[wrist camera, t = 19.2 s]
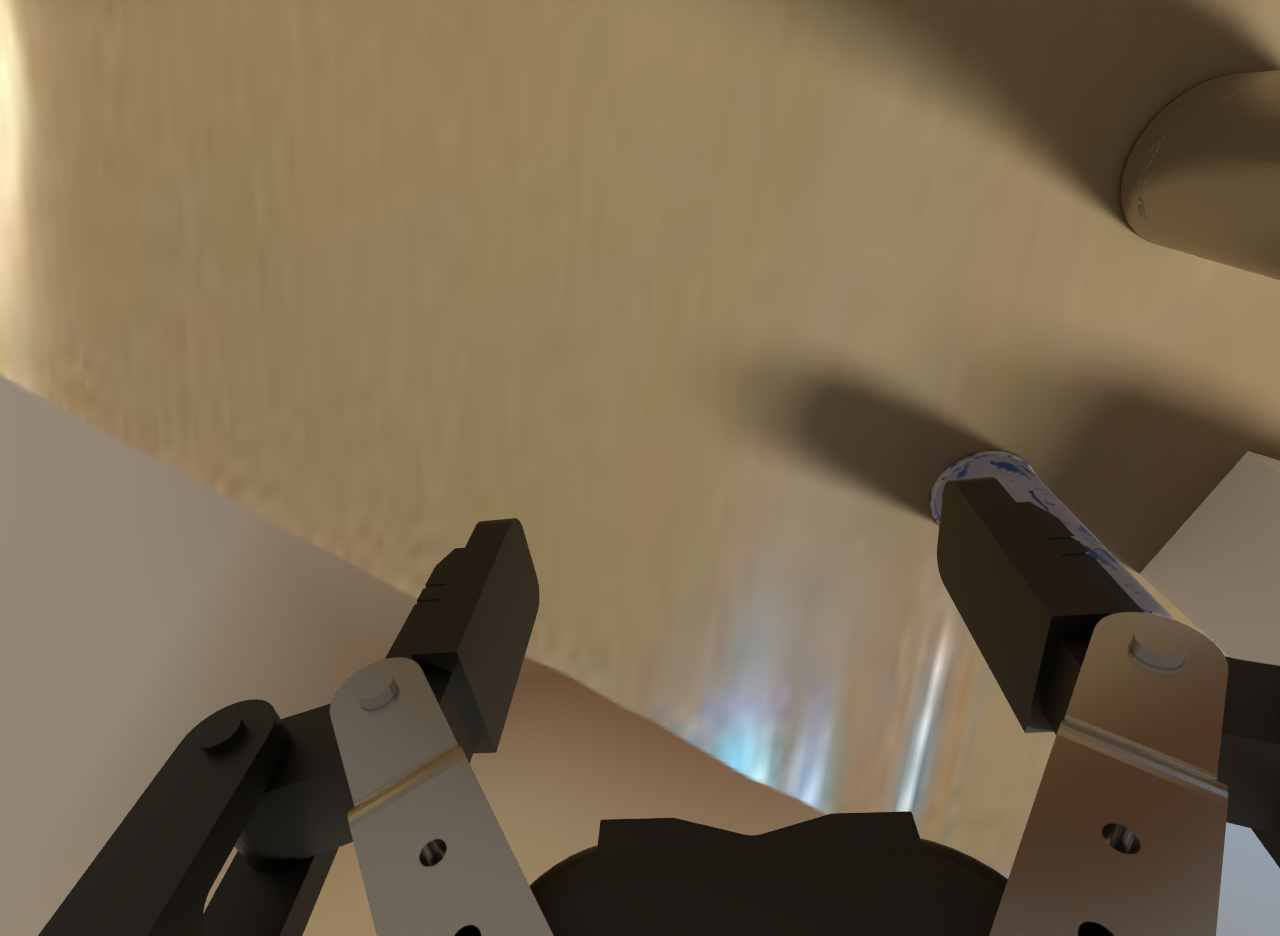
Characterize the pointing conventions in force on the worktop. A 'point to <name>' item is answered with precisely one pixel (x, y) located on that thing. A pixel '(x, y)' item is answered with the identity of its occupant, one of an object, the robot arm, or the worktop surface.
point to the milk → (1230, 563)
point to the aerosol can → (1031, 489)
